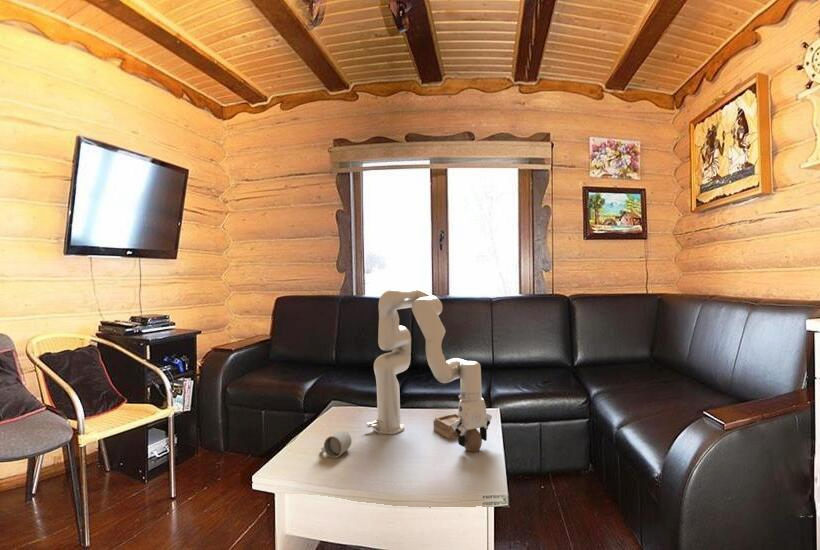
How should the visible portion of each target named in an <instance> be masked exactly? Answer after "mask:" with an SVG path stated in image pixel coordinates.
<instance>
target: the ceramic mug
mask: <svg viewBox="0 0 820 550" xmlns="http://www.w3.org/2000/svg"><path fill="white" fill-rule="evenodd" d="M351 445H352V437H351V435H350V434H349V433H348V432H347V431H345V430H340V431H337V432H335V433H333V434H332V435H330V436H328V437H326V439H325V440H324V442H323V446H322V447H321V448H320V450H321V452H322V453H325V454H326V455H327V456H328V457H329V458H331V457H332V459H337V458H339V457H341V456H342V454H344V453H345V452H347V451H348V450H349V448H351Z"/></svg>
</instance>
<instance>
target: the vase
mask: <svg viewBox="0 0 820 550" xmlns="http://www.w3.org/2000/svg"><path fill="white" fill-rule="evenodd" d="M464 436H465V446H464V449H465V450H466V451H467V452H469V453H476V452H478V451H480V450H481V447H482V443H483V439H482V438H481V434H480V430H478V428H476V429H472V430H466V431H465V433H464Z"/></svg>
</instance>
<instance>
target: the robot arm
mask: <svg viewBox="0 0 820 550" xmlns="http://www.w3.org/2000/svg"><path fill="white" fill-rule="evenodd" d="M410 308H411V311H412V313H413V316H414V318H415V320H416V322H417V324H418V326H419V328H420V331H421V332H422V335H423V337H424V339H425V356H426V360H427V361H426V362H427V364H428V366H429V368H430V371H431V373H432V375H433V377H434V378H435V379H436V380H437V382H440V383H442V384H448V383H451V382H453V381H455V380H458V379H460V394H458V398H459V404H458V411H457V415H458V418H457V419H456V420H455V421H454V422H453V423H452V424H451V426H452V428H453V430H454V431H455V432H456V433H457V434H458V437H457V443H458V445H459V446H461V447H464V446H465V436H464V435H463V434H464V432H465V431H466V430H472V429H479V433H480V434H481V438H482V441H485V442H486V441H487V440H488V439H487V437H488V436H487V435H488V433H487V431H488V429H489V426H490V425H491V420H492V418H493V417H492V415H491V414H489V413H487V408H486V402H485V400H484V398H483V397H482V393H483V392H482V369H481V367H482V366H481V363H480V362H478V361H475V360H466V359H463V358H458V357H454V358H452V357H451V358H449V359H447V360H446V357H445V355H444V353H443V349H442V348H443V347H442V343H443V339H444V337H445V334H446V332H447V331H446V329H445V326H444V324H443V323H442V321H441V318H440V317H439V316H440V314H442V312H443V303H442V301H441V300H440V299H439V298H438V297H436V296H435V295H433V294H430V293H429V292H426V291H423V290H420V289H418V288H415V287H397V288H393V289H392V288H391V289H389V290H386V291H384V293H382V294H381V296H380V298H379V299H378V330H377V331H378V332H377V333H378V337H377V338H378V339H377V342H378V347H379V348H380V349H381V350H382V351H384V352H386V353H383V354H381V355H379V356H378V357H376V359H375V360H374V362H373V371H374V375H375V381H376V404H377V405H376V407H377V408H376V410H377V411H376V413H377V417H376V418H374V419H375V420H374V421H372V422H371V421H370V422H366V428H368V429H369V428H371V429H373V430H374V431H375V433H378V434H380V435H395V434H399V433H401V432H402V431H405V430H404V429H405V424H404V423H403V422H401V403H400V402H401V398H400V397H401V396H400V383H399V380H398V379H397V375H398V374H401V373H403V372H405V371H407V370H408V368H409V366H410V364H411V353H412V336H411V332H410V330H409V329H408V328H407V327H406V326H404V325H400V317H399V313H398V311H397V310H403V309H410ZM458 424H459V428H457V425H458ZM462 428H463V429H462ZM461 429H462V430H461ZM464 448H465V447H464Z"/></svg>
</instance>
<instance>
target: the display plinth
mask: <svg viewBox="0 0 820 550" xmlns="http://www.w3.org/2000/svg"><path fill="white" fill-rule="evenodd" d="M457 418H458V413H450V414H447V415H443V416H438V417H434V419H433V431H435V432H436V433H438V434H439V433H440V434H439V435H442V436H443V437H444V436H445V437H444V438H446V439H447V438H448V439H447V440H450V439H449V438H451V439H454V438H453V437H455V438H458V437H457V436H458V434H457V433H456V432H455V431H454V430H453V428H452V426H451V424H452V423H453V422H454V421H455V420H456V419H457ZM457 428H459V424H458V425H457ZM462 429H463V428H462ZM462 429H461V430H462ZM464 433H465V432H464ZM463 435H464V434H463Z"/></svg>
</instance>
